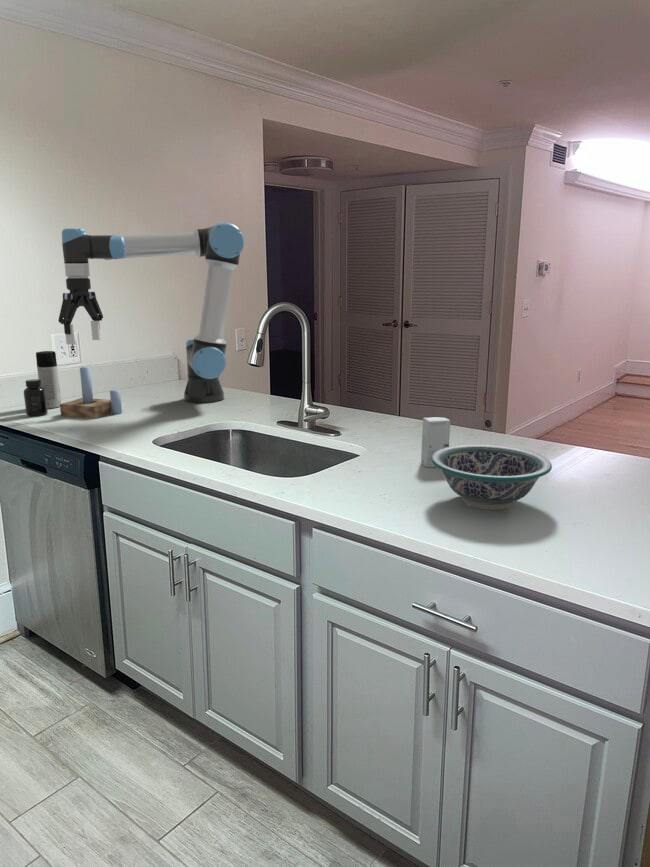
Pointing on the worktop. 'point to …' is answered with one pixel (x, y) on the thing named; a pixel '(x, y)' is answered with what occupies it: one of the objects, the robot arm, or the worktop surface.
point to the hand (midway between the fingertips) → (83, 342)
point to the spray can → (49, 377)
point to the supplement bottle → (35, 398)
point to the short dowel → (115, 401)
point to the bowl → (490, 473)
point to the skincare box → (434, 438)
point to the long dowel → (86, 385)
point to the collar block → (86, 408)
